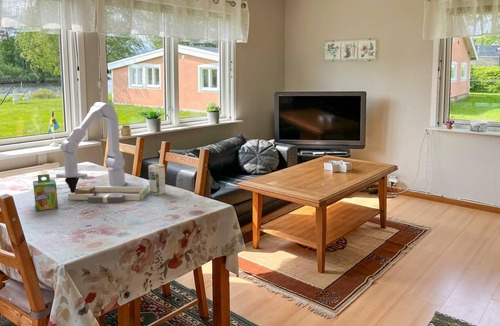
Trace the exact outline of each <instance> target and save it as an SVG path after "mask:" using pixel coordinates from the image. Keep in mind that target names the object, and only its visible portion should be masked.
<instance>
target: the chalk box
mask: <svg viewBox="0 0 500 326" xmlns="http://www.w3.org/2000/svg"><path fill="white" fill-rule="evenodd" d="M42 178H45V179H42ZM32 185H33V196H34V206H35V211H36V212H37V211H38V210H39V211H47V210H54V209H55V208H56V209H59V205H58V202H59V201H58V192H57V182H56V180H55V179H52V178H50V174H48V173H46V174H38V175H37V180H34V181H32ZM56 209H55V210H56ZM39 211H38V212H39Z"/></svg>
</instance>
